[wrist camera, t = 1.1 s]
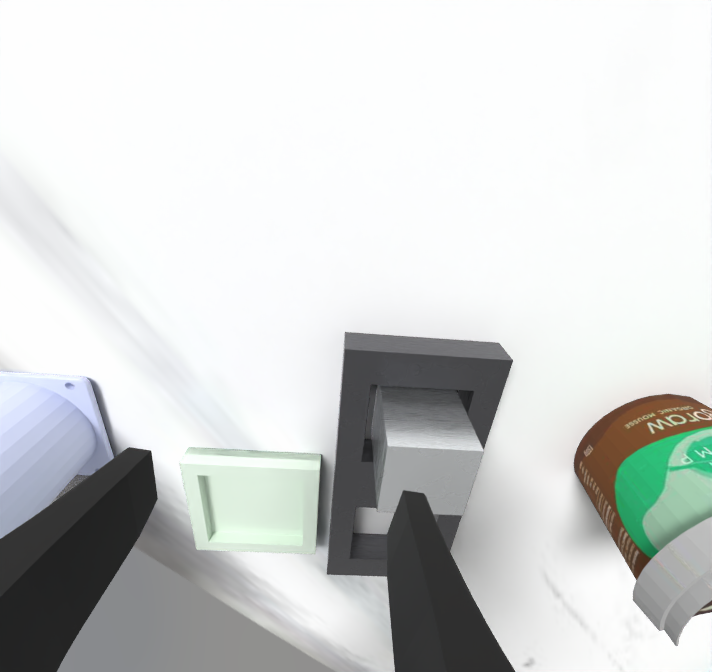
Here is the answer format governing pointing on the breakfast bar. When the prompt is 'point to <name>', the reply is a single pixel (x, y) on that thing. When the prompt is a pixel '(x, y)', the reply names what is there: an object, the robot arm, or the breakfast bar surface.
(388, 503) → the grey rectangular block
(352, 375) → the dark grey rectangular frame
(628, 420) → the food container
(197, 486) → the parts tray
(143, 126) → the breakfast bar surface
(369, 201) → the breakfast bar surface
